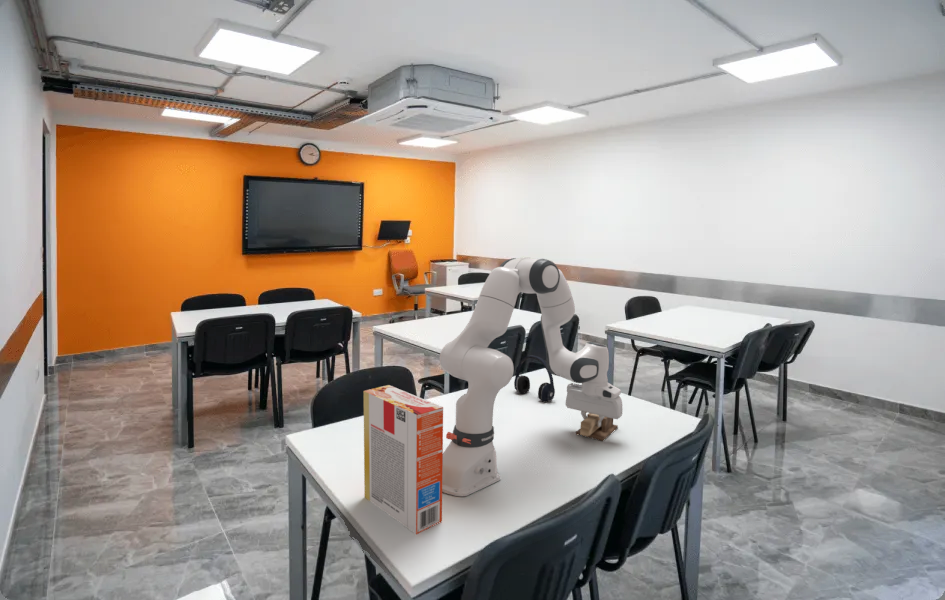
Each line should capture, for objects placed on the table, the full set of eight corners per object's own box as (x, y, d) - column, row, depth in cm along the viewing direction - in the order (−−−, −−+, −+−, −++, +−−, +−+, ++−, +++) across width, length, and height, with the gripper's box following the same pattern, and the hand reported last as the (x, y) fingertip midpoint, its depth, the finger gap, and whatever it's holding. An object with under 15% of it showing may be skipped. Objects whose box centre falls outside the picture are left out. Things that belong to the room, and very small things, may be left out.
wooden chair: (602, 441, 181) (604, 408, 180) (576, 434, 187) (577, 402, 185) (617, 428, 194) (619, 397, 192) (592, 421, 199) (593, 391, 197)
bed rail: (588, 436, 179) (589, 421, 179) (580, 434, 181) (580, 419, 180) (603, 423, 191) (604, 409, 190) (596, 422, 193) (596, 408, 192)
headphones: (511, 393, 232) (512, 353, 230) (521, 389, 237) (523, 350, 234) (546, 404, 217) (547, 362, 215) (556, 401, 222) (558, 359, 220)
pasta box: (441, 521, 130) (443, 407, 126) (416, 534, 125) (416, 414, 121) (389, 487, 147) (389, 384, 143) (364, 497, 141) (363, 390, 137)
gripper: (563, 383, 187) (561, 420, 189) (619, 395, 175) (616, 434, 177) (570, 379, 192) (569, 415, 194) (625, 390, 180) (622, 428, 182)
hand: (592, 424), depth 186 cm, fingers closed on bed rail, 3 cm apart
